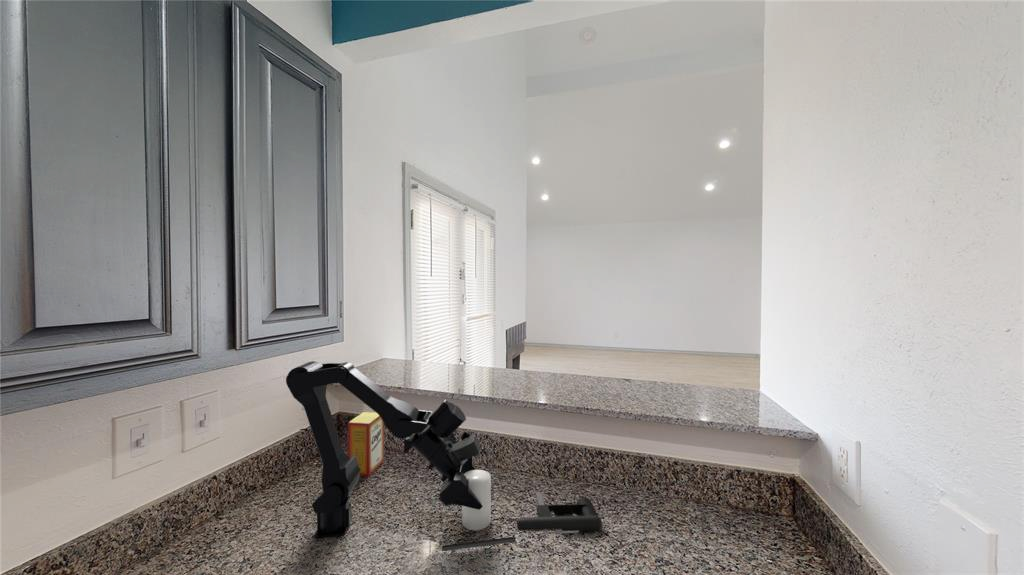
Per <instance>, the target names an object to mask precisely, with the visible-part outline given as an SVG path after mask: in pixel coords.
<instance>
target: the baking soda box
mask: <svg viewBox="0 0 1024 575" xmlns="http://www.w3.org/2000/svg"><path fill="white" fill-rule="evenodd" d="M384 429H385V425H384V423H383V421H382V419H381V417H380V416H379V415H378V414H377V413H376V412H375V411H364V412H362V413H360V414H359V415H357V416H356V417H354V418H353V419H351V420H349V422H347V456H348V457H349V458H351V457H353V456H356V458H357V464H358V466H359V468H360V469H361V471H360V473H359V475H361V476H360V477H370V476H371V475H372V474H373V473H374V472H375V471H376V470H377V469H378V468H379V466H380V465H381V464H382V463H384V461H385V448H384V447H385V445H384V443H385V442H384V441H385V440H384V439H385V438H384V436H385V433H384V432H385V430H384ZM370 474H371V475H370Z"/></svg>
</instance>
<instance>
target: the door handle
mask: <svg viewBox="0 0 1024 575" xmlns="http://www.w3.org/2000/svg"><path fill="white" fill-rule="evenodd" d="M535 494H536V500H537V505H536V513H537V516H531V517H529V516H527V517H520V518H517V519H516V527H517V529H518V530H523V531H525V530H551V529H552V530H556V529H557V531H551V532H544V533H543V532H542V533H543V535H545V534H548V535H549V534H579V532H587V531H588V532H589V531H590V532H591V531H592V532H593V531H595V532H596V531H600V530H601V529H602V527H603V521H602V519H601V517H599V515H598V512H597V511H596V509H595V507H594V504H593V503H592V501H591V499H589V498H588V497H580V498H579V499H578V500H577V501H576V504H546V503H545V500H544V495H543V492H535ZM551 511H552V512H553V514H554V515H556V516H552V515H551ZM558 515H559V516H558ZM566 515H567V516H566ZM558 529H561V530H558Z"/></svg>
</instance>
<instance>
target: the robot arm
mask: <svg viewBox="0 0 1024 575" xmlns="http://www.w3.org/2000/svg"><path fill="white" fill-rule="evenodd" d="M285 383H286V386H287V388H288V390H289V392H290V393H291V395H292V397H293V398H294V399H295V401H297V402H298V403H299V404H300V405H302V407H303V409H304V412H305V415H306V418H307V420H308V424H309V426H310V427H309V428H310V430H311V432H312V437H313V438H314V442H315V445H316V448H317V450H318V453H319V457H320V460H321V463H322V471H321V482H320V483H321V488H322V491H321V493H320V494H319V495H318V496H317V497H316V499H315V500H313V502H312V503H311V507H312V509H313V512H314V513H315V514H316V531H315V534H314V538H315V539H320V538H327V537H337V536H338V537H339V536H344V535H345V534H346V533H347V529H348V528H349V527H350V525H351V523H352V522H351V521H352V517H353V515H352V513H353V511H352V510H353V509H352V508H353V507H352V503H351V502H350V496H349V495H350V494H351V492H352V491H353V490H354V488H355V487H356V485H357V484H358V482H359V480H360V477H361V476H360V475H359V473H360V471H361V469H360V468H359V466H358V464H357V458H356V456H353V457H351V458H349V457H348V454H346V452H345V451H344V448H343V445H342V443H341V438H340V436H339V433H338V430H337V427H336V424H335V421H334V419H333V415H332V412H331V409H330V406H329V403H328V400H327V387H328V386H327V385H332V384H339V385H341V387H343V388H344V389H346V390H347V391H348V392H350V393H351V394H352V395H354V397H356V398H357V399H359V400H360V401H361V402H362V403H363V404H365V405H366V406H367V407H368V408H370V409H371V410H372V411H373V412H376V413H377V414H378V415H379V416H380V417H381V419H382V421H383V423H384V427H385V428H387V430H388V431H389V432H390V433H391V434H392V435H393V436H394V437H395V438H397V439H399V440H401V439H403V446H404V447H403V453H404V454H407V453H408V452H409V451H410V450H412V448H413V449H414V450H415V451H416V452H417V453H418V454H419V455H420V456H421V457H422V458H423V459H424V460H425V461H426V462H427V463H428V465H427V469H429V470H430V471H431V470H432V469H434V470H435V471H436V472H438V474H439V475H440V480H441V481H442V483H443V484H442V485H441V488H440V491H439V496H438V498H439V502H440V503H441V504H442V505H443V507H448V506H452V505H455V506H461V507H462V506H466V507H470V508H474V509H478V510H480V509H481V508H482V504H481V503H480V501H479V500H478V499H477V497H476V496H475V495H474V493H473V492H472V491H471V490H470V488H469V479H467V478H466V476H465V475H464V474H465V473H466V472H468V471H471V470H477V468H476V466H475V464H474V457H477V456H478V455H479V453H480V449H481V446H480V443H479V441H478V436H477V435H475V433H472V432H471V431H470V430H469V429H468V430H467V429H466V430H465V431H463V432H462V433H461V439H458V441H457V442H455V443H453V441H451V440H447V441H446V440H444V439H445V438H446V439H447V438H450V436H452V434H453V433H455V431H456V430H457V429H458V428H459V427H460V426H461V425H463V423H465V421H466V420H467V417H466V415H465V413H464V412H463V410H462V409H461V408H460V407H459V406H458V405H455V404H454V403H452V402H449V401H448V400H447V399H444V400H443V401H442V402H441V403H440V405H439V406H438V407H437V408H436V409H435V410H434V411H432V410H431V411H430V410H422V409H418V408H417V407H415V406H414V405H413V404H410V403H408V402H407V401H405V400H402V399H398V398H395V397H393V396H391V395H390V394H389V393H387V392H386V391H385V390H384V389H382V388H381V387H380V386H379V385H377V384H376V383H375V382H374V381H372V380H371V379H370V378H369V377H367V375H365V374H364V373H362V372H361V371H360V370H358V369H357V368H356V367H355V365H354V364H353V363H351V362H347V361H345V362H341V363H338V362H337V363H336V362H335V363H334V362H329V363H328V362H327V363H320V362H317V361H313V360H312V361H308V362H306V363H303V364H301V365H299V366H296V367H294V368H292V369H291V370H290V371H288V374H287V376H286V377H285Z"/></svg>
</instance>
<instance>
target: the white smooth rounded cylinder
mask: <svg viewBox="0 0 1024 575" xmlns="http://www.w3.org/2000/svg"><path fill="white" fill-rule="evenodd" d="M464 475H465V476H466V478H467V479H469V488H470V490H471V491H472V492H473V493H474V495H475V496H476V497H477V499H478V500H479V501H480V503H481V504H482V508H481V509H480V510H478V509H474V508H470V507H466V506H461V524H462V526H463V527H464V528H465V529H467V530H468V531H469V530H470V531H480V530H481V531H482V530H483V529H484V530H485V529H486V528H487V527H488V526H489V525H490V524H491V520H492V518H491V517H492V515H491V514H492V513H491V512H492V500H491V499H492V475H491V474H490V473H489V471H486V470H483V469H476V470H471V471H468V472H466V473H465V474H464Z"/></svg>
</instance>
